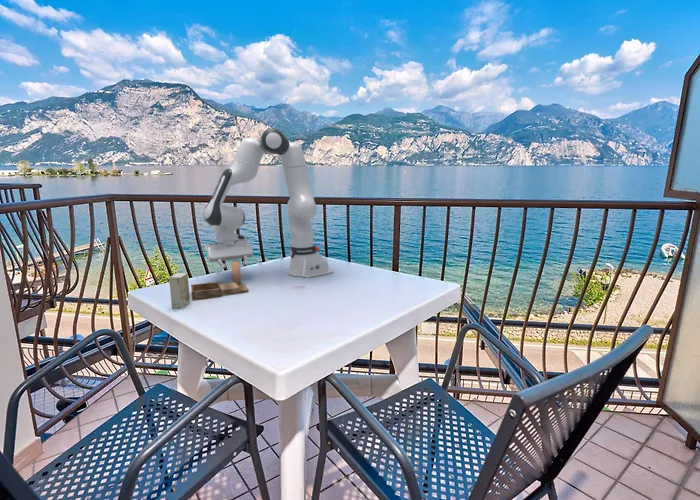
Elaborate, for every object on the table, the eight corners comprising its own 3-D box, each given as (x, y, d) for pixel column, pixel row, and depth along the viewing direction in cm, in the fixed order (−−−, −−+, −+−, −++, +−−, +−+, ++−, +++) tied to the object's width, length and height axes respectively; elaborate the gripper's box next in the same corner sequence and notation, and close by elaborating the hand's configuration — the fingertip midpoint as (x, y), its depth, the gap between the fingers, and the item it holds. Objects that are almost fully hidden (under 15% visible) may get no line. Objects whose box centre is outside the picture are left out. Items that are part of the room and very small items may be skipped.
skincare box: (182, 308, 132) (179, 277, 129) (171, 308, 132) (168, 277, 129) (190, 302, 138) (188, 272, 135) (179, 302, 138) (176, 272, 135)
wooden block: (240, 282, 162) (239, 260, 160) (241, 284, 159) (240, 262, 157) (232, 283, 161) (230, 261, 159) (233, 285, 158) (232, 263, 155)
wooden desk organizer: (245, 286, 158) (244, 278, 157) (249, 293, 149) (248, 285, 148) (191, 292, 149) (191, 284, 148) (192, 300, 140) (191, 292, 139)
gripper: (204, 240, 157) (211, 266, 151) (249, 235, 168) (257, 260, 163) (202, 247, 161) (209, 273, 156) (246, 243, 173) (254, 267, 167)
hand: (234, 266), depth 159 cm, fingers open, 8 cm apart
